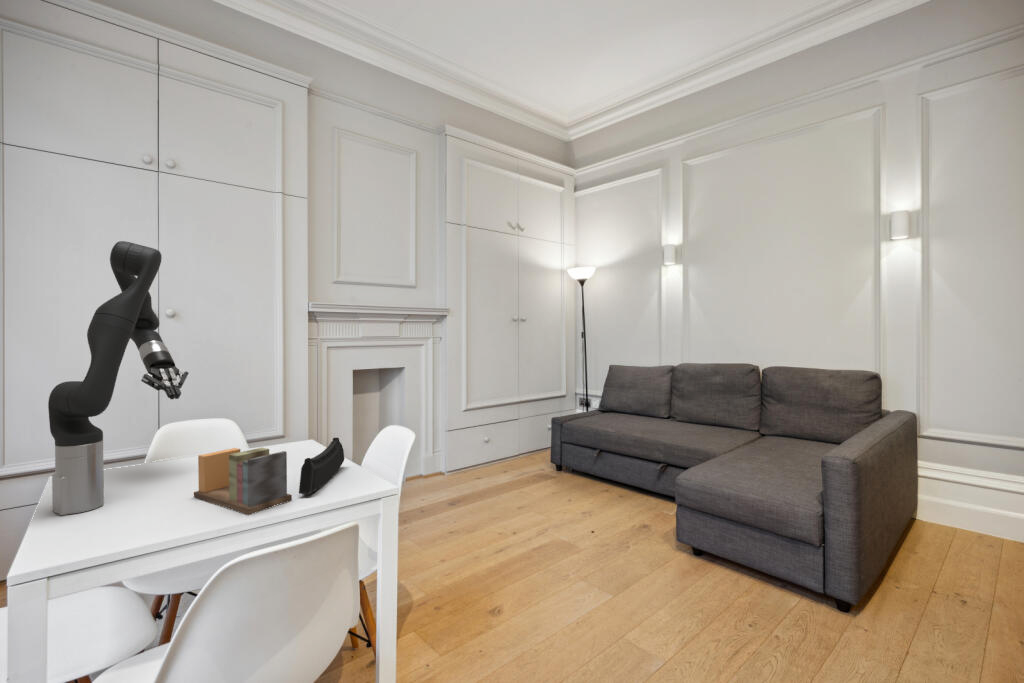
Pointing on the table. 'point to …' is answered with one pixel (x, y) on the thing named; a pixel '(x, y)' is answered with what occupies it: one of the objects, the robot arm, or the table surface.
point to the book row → (252, 482)
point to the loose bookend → (214, 470)
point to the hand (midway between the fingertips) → (175, 397)
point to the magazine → (321, 467)
